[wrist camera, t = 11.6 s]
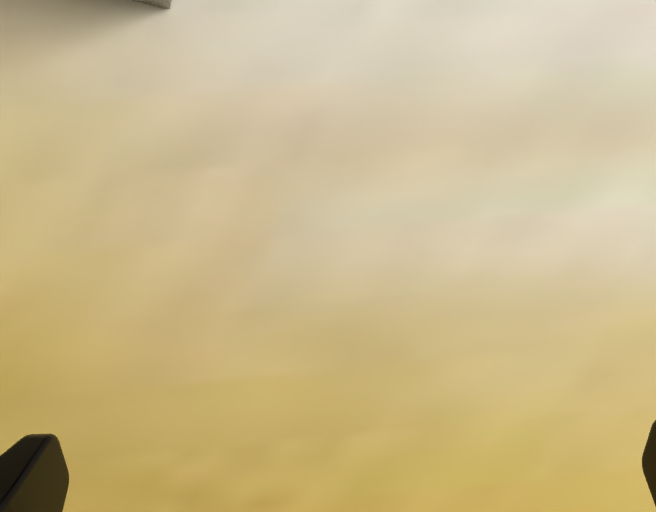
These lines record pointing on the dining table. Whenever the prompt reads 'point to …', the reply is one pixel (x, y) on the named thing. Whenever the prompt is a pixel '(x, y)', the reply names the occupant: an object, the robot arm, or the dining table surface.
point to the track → (157, 3)
